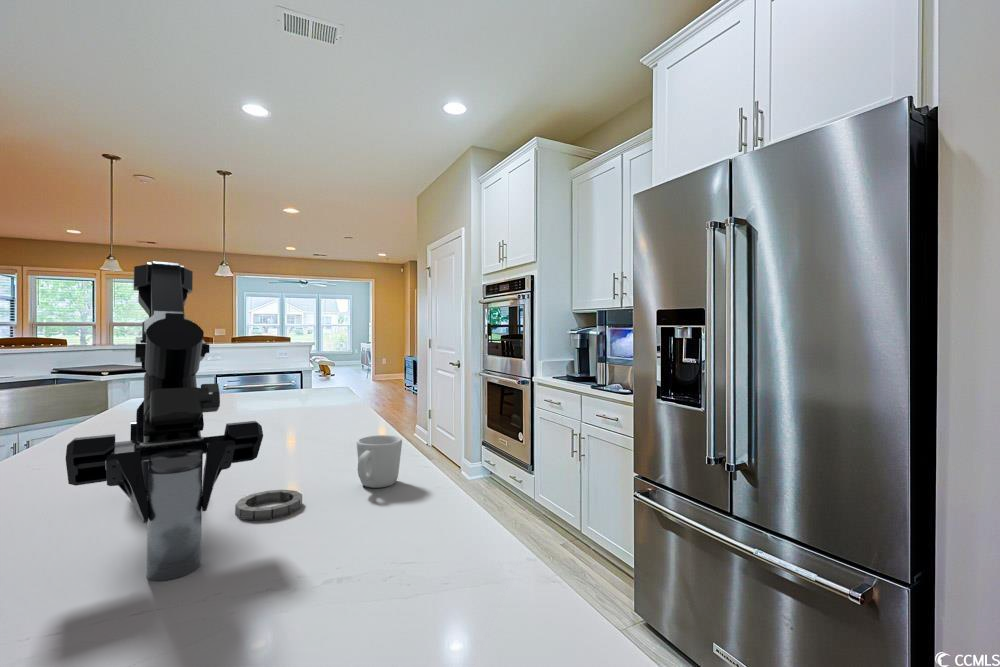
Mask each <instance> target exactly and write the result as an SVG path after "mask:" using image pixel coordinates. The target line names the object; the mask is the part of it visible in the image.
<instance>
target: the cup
mask: <svg viewBox="0 0 1000 667" xmlns="http://www.w3.org/2000/svg"><path fill="white" fill-rule="evenodd" d="M402 447H403V439H402V438H401V437H400V436H396V435H389V434H383V435H381V434H380V435H378V434H377V435H369V436H364V437H361V438H359V439H358V440H357V441H356V449H357V450H356V452H357V475H358V478H359V480H360V483H361V485H363V486H364V487H367V488H373V489H374V488H376V489H378V488H379V489H380V488H385V487H390V486H392V485H393V484H395V483H396V482H397V481H398V478H399V471H400V464H401V455H402V454H401V453H402Z"/></svg>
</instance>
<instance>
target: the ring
mask: <svg viewBox="0 0 1000 667" xmlns="http://www.w3.org/2000/svg"><path fill="white" fill-rule="evenodd" d="M269 502H285V503H282V504H278V505H277V504H276V505H274V506H263V507H254V506H256V505H259V504H264V503H269ZM302 505H303V494H302V493H300V492H299V491H298V490H290V489H271V490H264V491H260V492H259V491H258V492H256V493H252V494H248V495H246V496H245V497H242V498H240V499H238V501H237V502H236V503H235V505H234V506H235V508H234V509H235V511H234V512H235V514H234V515H235V516H236V517H237V518H238V519H240V520H245V521H255V522H256V521H257V522H258V521H269V520H274V519H278V518H282V517H283V518H284V517H286V516H289V515H292V514H293V513H295V512H297V511H299V510H300V509H301V508H302Z"/></svg>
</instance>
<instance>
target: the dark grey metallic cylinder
mask: <svg viewBox="0 0 1000 667" xmlns="http://www.w3.org/2000/svg"><path fill="white" fill-rule="evenodd" d="M203 457H204V454H203V451H202V450H198V449H181V450H172V451H166V452H161V453H157V454H154V455H151V456H150V457H149V471H148V495H147V499H148V522H146V523H147V525H146V526H147V534H146V578H147V579H148V580H150V581H152V582H164V581H171V580H176V579H179V578H182V577H185V576H187V575H190V574H192V573H193V572H195V571H197V570H198V569H199V568H200V566H201V565H202V562H201V561H202V519H203V518H202V514H203V513H202V512H203V511H202V486H203V469H204V467H203V466H204V465H203V462H204V461H203V460H204V459H203Z"/></svg>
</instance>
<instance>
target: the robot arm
mask: <svg viewBox="0 0 1000 667" xmlns="http://www.w3.org/2000/svg"><path fill="white" fill-rule="evenodd" d="M193 272H194V271H192V270H191V269H187V268H185V265H181V264H180V263H179V262H178V263H177V262H176V263H175V262H166V261H154V260H153V261H151V262H148V261H147V263H146V264H141V265H136V266H133V291H136V292H137V291H138V298H137V299H138V300H137V302H138V304H139V305H140V307H142V309H143V310H144V311H145V313H146V314H147V316H148V318H147V319H145V320H144V321H143V322H142V323H141V324H142V326H141V336H135V346H134V347H135V352H134V354H135V356H134V358H135V359H134V363H141V369H142V370H145V373H144V375H143V401H142V402H141V403H140V405H139V406H138V407H137V409H136V416H135V417H136V419H135V421H130V440H125V441H116V433H114V434H100V435H92V436H82V437H80V436H79V437H74V438H73V439H72V440H71V441H69V442H68V443H67V445H66V451H65V452H66V453H65V466H66V474H67V480H68V481H67V482H68V485H71V486H75V487H76V486H82V485H83V486H84V485H90V484H98V483H103V482H104V483H105V482H106V485H107V486H108V487H115V486H118V487H119V489H120V490H121V491H122V492H123V493H124V494H125V495H126V496H127V497H128V498H129V500H130V501H131V503H132V504H133V506H134V508H135V511H136V512H137V514H138V516H139V518H140V520H141V522H142V523H143V524H144V523H145V524H146V523H148V471H149V457H150V456H151V455H154V454H157V453H161V452H166V451H172V450H181V449H198V450H202V451H203V455H205V461H204V465H203V466H204V467H203V472H202V512H207V510H208V507H209V502H210V500H211V497H212V494H213V490H214V486H215V484H216V481H217V480H218V478H219V476H220V475H221V473H222V472H221V471H223V470H228V469H229V468H231V466H232V464H235V463H236V464H237V463H243V462H248V461H249V462H251V461H254V460H255V459H256V458H258V455H259V452H260V449H261V445H262V442H263V440H264V439H263V438H264V433H263V428H262V427H263V426H262V424H260V423H259V422H258V421H256V420H251V421H241V422H240V421H239V422H231V423H226V425H225V429H224V434H223V435H222V434H221V435H214V436H202V434H201V431H204V428H205V427H204V426H205V423H204V413H212V412H213V413H215V412H218V410H219V409H220V407H221V394H220V387H219V383H216V382H215V383H202V384H200V387H197V373H198V371H199V370H200V365H201V364H200V363H201V362H202V361H203V359H204V358H205V356H206V355H207V354H210V344H208V343H206V342H205V340H204V334H205V333H204V330H203V329H202V328H201V326H199V324H197V323H195V322H194V321H192V320H190V319H189V318H188V317H186V315H185V306H186V303H187V299H188V294H190V295H191V294H192V292H193V289H194V288H193V281H194V280H193V278H194V276H193V274H194V273H193Z"/></svg>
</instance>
